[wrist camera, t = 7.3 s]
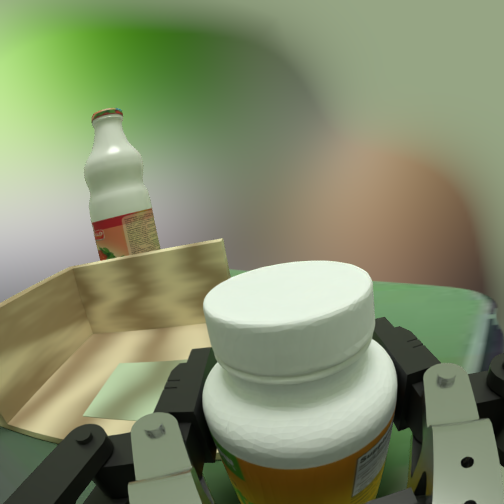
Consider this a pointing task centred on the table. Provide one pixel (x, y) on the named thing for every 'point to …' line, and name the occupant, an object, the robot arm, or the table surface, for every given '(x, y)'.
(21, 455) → the table surface
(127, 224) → the fruit juice
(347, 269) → the supplement bottle
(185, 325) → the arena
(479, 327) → the table surface
